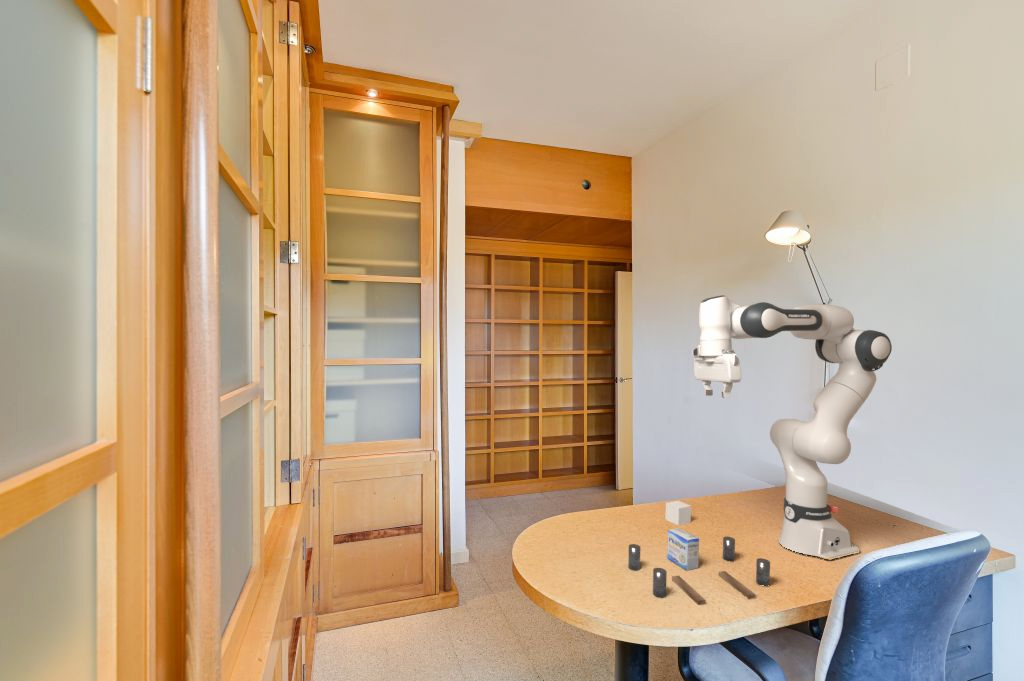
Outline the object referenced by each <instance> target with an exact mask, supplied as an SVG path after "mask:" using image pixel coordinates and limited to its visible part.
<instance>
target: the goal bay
mask: <svg viewBox="0 0 1024 681" xmlns="http://www.w3.org/2000/svg"><path fill="white" fill-rule="evenodd" d="M718 576H719V577H720V578H721V579H722V580H724V581H725V582H726V583H728V584H729V585H730V586H731V587H733V588H734V589H735V590H736V591H737V592H738V593H740V592H741V593H742V594H741V593H740V594H741V595H743V596H744V597H745V596H746V597H747V598H746V597H745V598H746V599H748V600H752V599H751V598H755V599H756V596H757V594H756V593H754V592H753V591H752V590H751V589H750V588H748V587H747V586H745V585H744V584H743V583H741V582H740V581H739V580H738V579H736V578H735V577H733V576H732V575H731V574H729V572H727V571H725V570H723V571H722V570H721V571H718ZM671 581H672V582H674V584H676V585H677V586H678V587H679V588H680V590H682V591H683V592H684V593H685V594H686V595H687V596H688V597H689V598H690V599H691V600H692V601H693V602H695V603H696V605H698V606H699V605H706V603H707V600H706V599H705V597H704V596H702V595H701V594H700V593H699V592H698V591H696V589H694V588H693V587H692V586H691V585H690V584H689V583H687V582H686V580H684V579H683V578H682V577H681V576H680V575H673V576H671Z"/></svg>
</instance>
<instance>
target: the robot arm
mask: <svg viewBox="0 0 1024 681" xmlns="http://www.w3.org/2000/svg"><path fill="white" fill-rule="evenodd" d="M854 323H855V319H854V316H853V313H852V312H851V311H850V310H849V309H847V308H846V307H843V306H837V305H833V304H826V303H825V304H824V303H823V304H822V303H821V304H819V303H814V304H803V305H799V306H795V307H793V308H792V309H790V308H789V309H788V308H786V309H785V308H781V307H779V306H777V305H774V304H772V303H769V302H767V301H766V302H764V301H763V302H757V303H753V304H751V305H749V304H748V305H744V306H742V305H739V304H737V303H735V302H734V301H732V300H730V299H729V298H728V296H727V295H716V296H712V297H708V298H705V299H703V300H702V301H701V302H700V304H699V309H698V328H699V331H700V336H699V341H698V342H699V344H698V345H697V346H696V347H695V348H694V349H692V350H691V353H692V357H694V358H693V364H692V365H693V375H694V378H695V380H696V381H701V382H702V386H703V389H704V395H705V396H708V397H711V396H713V394H714V393H713V392H714V390H713V389H712V387H711V385H712V382H718V383H723V384H722V386H723V391H721V398H723V399H730V398H731V391H732V389H733V387H734V386H733V383H740V382H741V381H742V372H741V371H742V369H741V363H740V362H741V361H740V359H739V357H738V354H737V353H736V352H735V350H734V349H733V346H732V345H733V344H732V342H733V341H732V339H734V340H735V339H736V340H742V339H744V340H745V339H767V338H771V337H773V336H776V335H778V334H779V333H781V332H790V333H791V334H792V335H793V337H795V338H797V339H798V338H799V339H801V340H810V341H811V340H813V341H815V343H814V344H815V345H814V346H815V352H816V355H817V357H818V358H819V359H820V360H822V361H823V362H827V363H830V364H838V369H837V372H836V373H835V374H834V375H833V376H832V377H831V379H829V380H828V382H827V383H826V384H825V386H824V387H823V388H822V389H821V391H820V392H818V394H817V395H816V396H815V398H814V399H813V401H812V406H813V409H814V412H815V416H814V418H813V420H811V421H810V422H809V421H805V420H801V419H797V418H781V419H778V420H776V421H775V422H773V424H772V425H771V427H770V429H769V437H770V440H771V442H772V444H773V445H774V446H775V447H776V449H777V451H778V453H779V456H780V458H781V461H782V464H783V468H784V474H785V497H784V498H783V512H784V514H783V521H782V526H781V531H780V534H779V538H778V540H779V541H778V544H779V543H780V544H781V545H782V546H781V545H780V544H779V545H780V546H781V547H783V548H784V547H785V548H784V549H786V548H787V550H788V549H790V550H792V551H791V552H793V551H795V552H794V553H796V552H799V553H803V554H809V555H815V556H820V557H824V558H834V557H838V556H842V555H846V554H850V553H854V552H858V551H860V552H861V549H859V546H857V545H855V544H854V543H851V536H850V532H849V530H848V529H847V527H845V526H844V525H843V524H841V523H840V522H839V521H837V520H836V519H835V518H834V517H833V515H832V513H833V514H838V513H839V512H840V508H839V507H838V506H835V505H829V504H828V480H827V477H826V475H825V474H824V473H823V472H822V471H821V469H820V467H819V466H818V463H819V464H820V463H821V464H828V465H839V464H842V463H844V462H845V461H846V460H847V459H848V458H849V456H850V454H851V450H852V445H851V442H850V439H849V437H848V433H847V432H848V428H849V424H850V423H851V420H852V419H853V418H854V417H855V415H856V414H857V412H858V411H859V410H860V408H862V406H863V404H864V403H865V402H866V400H868V398H869V396H870V394H871V393H872V391H873V388H874V386H876V383H877V375H876V373H875V371H878V370H880V369H881V368H882V367H883V366H884V364H885V363H886V362H887V360H888V358H889V357H890V355H891V353H892V348H893V346H892V343H891V339H890V337H889V336H888V335H887V334H885V333H884V332H882V331H878V330H873V329H867V330H864V329H855V328H854ZM852 546H853V547H852ZM790 550H789V551H790ZM799 553H798V554H799ZM828 555H830V556H828Z"/></svg>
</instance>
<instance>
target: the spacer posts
mask: <svg viewBox="0 0 1024 681" xmlns="http://www.w3.org/2000/svg"><path fill="white" fill-rule="evenodd" d="M735 554H736V539H735V538H734V537H732V536H723V537H722V559H723V561H725V560H726V561H725V562H729V561H730V562H732V561H733V562H735V561H736V556H735ZM627 558H628V560H627V562H628V566H627V568H628V569H629V570H630V571H635V572H636V571H640V570H641V546H640V544H639V545H638V544H635V543H631V544H629V545H628V557H627ZM734 560H735V561H734ZM733 562H732V563H733ZM652 570H653V574H652V578H653V579H652V595H653V596H654V597H656V598H659V599H663V598H666V597H667V570H666V569H664V568H663V567H655V568H653V569H652ZM755 572H756V573H755V575H756V576H755V583H756V582H757V583H758V584H760V585H764V586H768V585H771V584H770V583H771V582H770V581H771V575H770V574H771V561H770V560H769V559H766V558H762V557H761V558H760V557H759V558H757V559H756V569H755ZM757 583H756V584H757ZM758 584H757V585H758ZM760 585H759V586H760ZM764 586H763V587H764ZM768 587H769V586H768Z"/></svg>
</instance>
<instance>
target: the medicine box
mask: <svg viewBox="0 0 1024 681" xmlns="http://www.w3.org/2000/svg"><path fill="white" fill-rule="evenodd" d="M667 532H668V533H667V553H666V555H667V556H666V559H667V560H668V561H669V562H671V563H673V564H675V565H677V566H679V567H680V568H681V569H684V570H685V571H686V572H687V571H691V570H695V569H698V568H699V550H700V549H699V548H700V539H699V537H697V536H695V535H693V534H691V533H689V532H687V531H684V530H683V529H681V528H680V527H677V528H672V529H671V528H670V529H668V531H667Z"/></svg>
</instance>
